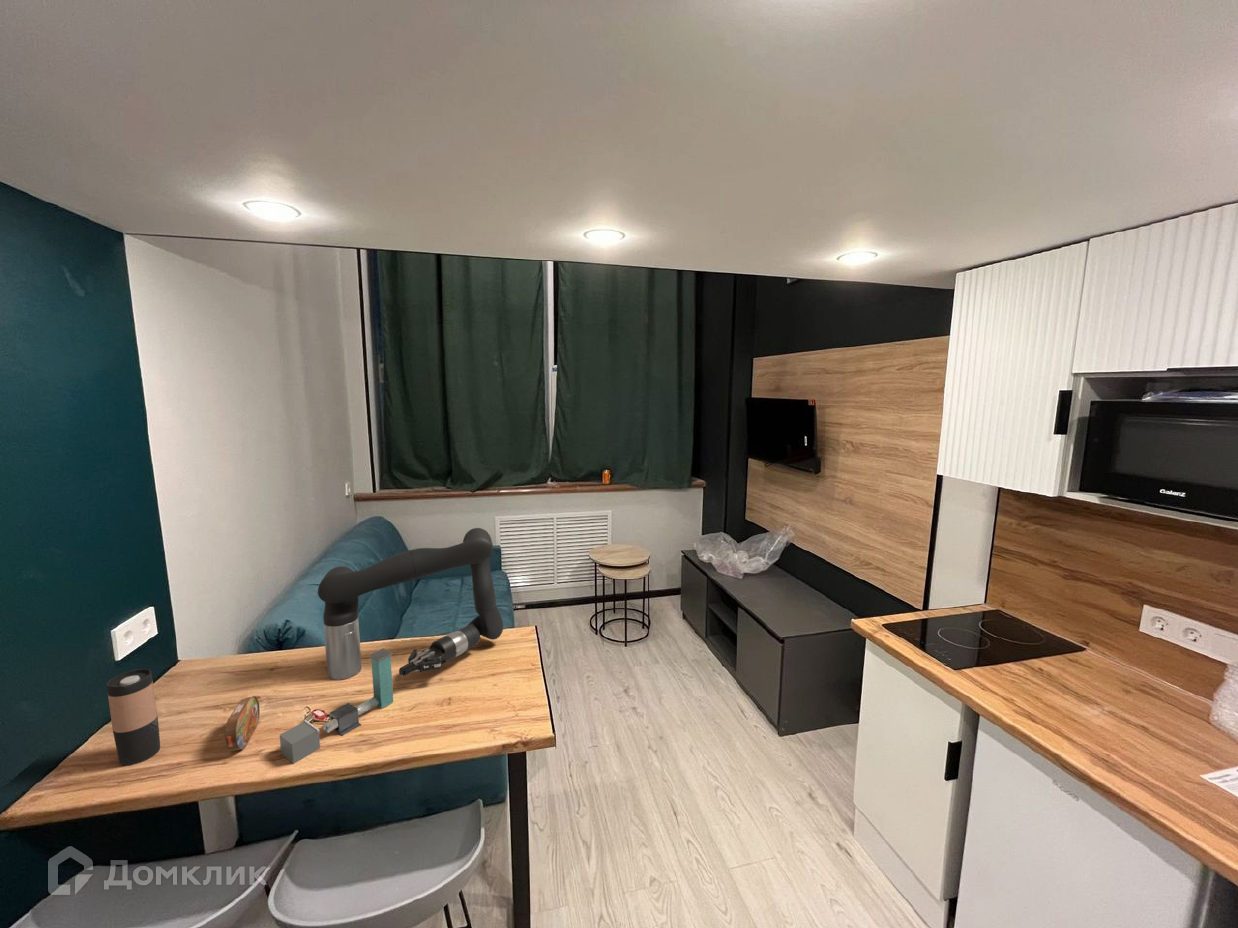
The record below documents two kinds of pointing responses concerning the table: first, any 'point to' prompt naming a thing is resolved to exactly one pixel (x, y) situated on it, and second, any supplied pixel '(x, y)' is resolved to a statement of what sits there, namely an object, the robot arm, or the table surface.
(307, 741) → the socket
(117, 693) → the travel mug
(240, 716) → the tin
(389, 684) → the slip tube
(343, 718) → the sleeve
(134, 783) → the table surface
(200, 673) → the table surface
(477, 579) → the robot arm
